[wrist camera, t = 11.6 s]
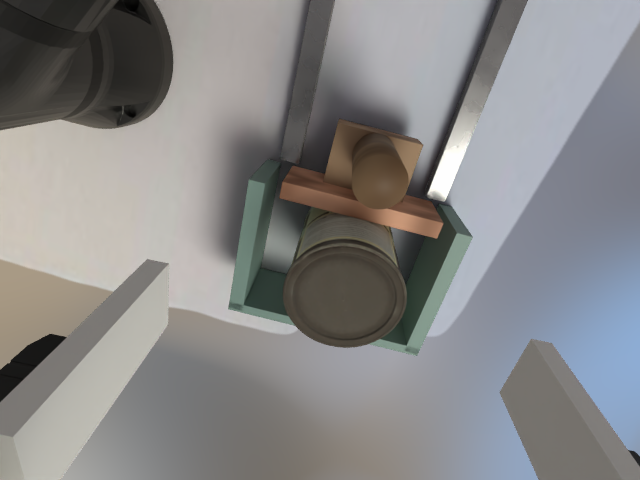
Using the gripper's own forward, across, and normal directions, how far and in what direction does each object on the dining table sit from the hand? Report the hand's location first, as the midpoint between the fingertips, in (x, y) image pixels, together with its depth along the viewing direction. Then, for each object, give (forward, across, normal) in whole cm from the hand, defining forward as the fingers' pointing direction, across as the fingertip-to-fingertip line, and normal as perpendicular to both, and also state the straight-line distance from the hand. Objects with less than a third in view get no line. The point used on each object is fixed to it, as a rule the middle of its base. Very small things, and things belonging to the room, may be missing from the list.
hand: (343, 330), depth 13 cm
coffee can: (+29, +2, -9) cm, 30 cm away
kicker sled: (+27, +2, 0) cm, 27 cm away
